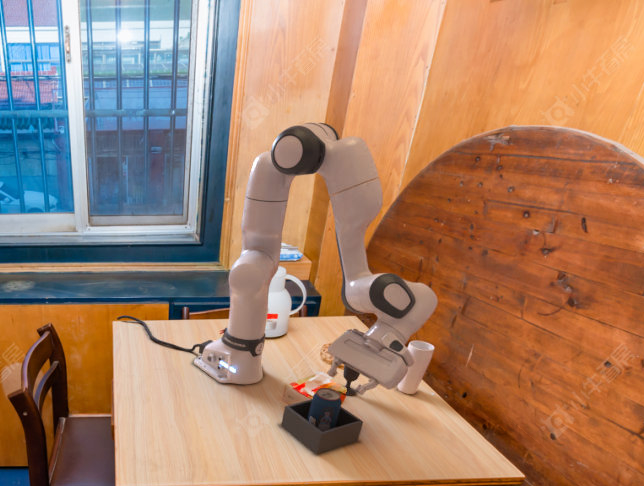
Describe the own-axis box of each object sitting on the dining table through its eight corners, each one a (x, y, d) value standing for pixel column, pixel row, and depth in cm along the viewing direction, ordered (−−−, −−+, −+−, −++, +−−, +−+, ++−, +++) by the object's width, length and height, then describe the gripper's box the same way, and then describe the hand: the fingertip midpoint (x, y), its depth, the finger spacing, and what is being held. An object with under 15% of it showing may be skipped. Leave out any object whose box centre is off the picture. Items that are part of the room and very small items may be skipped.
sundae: (347, 399, 148) (360, 353, 141) (330, 388, 154) (341, 343, 146) (363, 394, 151) (376, 348, 143) (345, 383, 156) (357, 339, 149)
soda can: (319, 422, 137) (329, 384, 131) (338, 437, 132) (349, 397, 126) (299, 428, 135) (308, 389, 128) (317, 443, 129) (327, 403, 123)
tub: (280, 425, 136) (284, 406, 133) (320, 414, 141) (324, 395, 138) (316, 454, 125) (321, 434, 122) (357, 441, 130) (363, 421, 127)
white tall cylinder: (421, 397, 150) (438, 351, 142) (397, 394, 151) (412, 349, 144) (415, 386, 156) (431, 341, 148) (391, 383, 157) (406, 339, 149)
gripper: (346, 319, 132) (309, 360, 134) (413, 352, 117) (371, 397, 118) (354, 332, 136) (319, 371, 138) (420, 365, 121) (379, 409, 122)
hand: (343, 383), depth 128 cm, fingers open, 8 cm apart
